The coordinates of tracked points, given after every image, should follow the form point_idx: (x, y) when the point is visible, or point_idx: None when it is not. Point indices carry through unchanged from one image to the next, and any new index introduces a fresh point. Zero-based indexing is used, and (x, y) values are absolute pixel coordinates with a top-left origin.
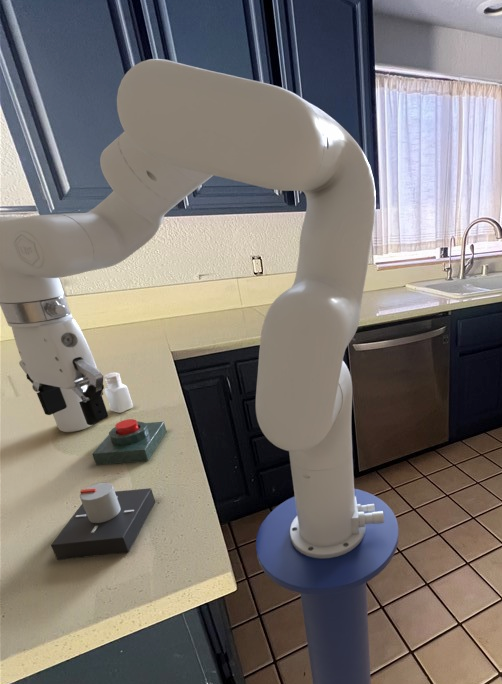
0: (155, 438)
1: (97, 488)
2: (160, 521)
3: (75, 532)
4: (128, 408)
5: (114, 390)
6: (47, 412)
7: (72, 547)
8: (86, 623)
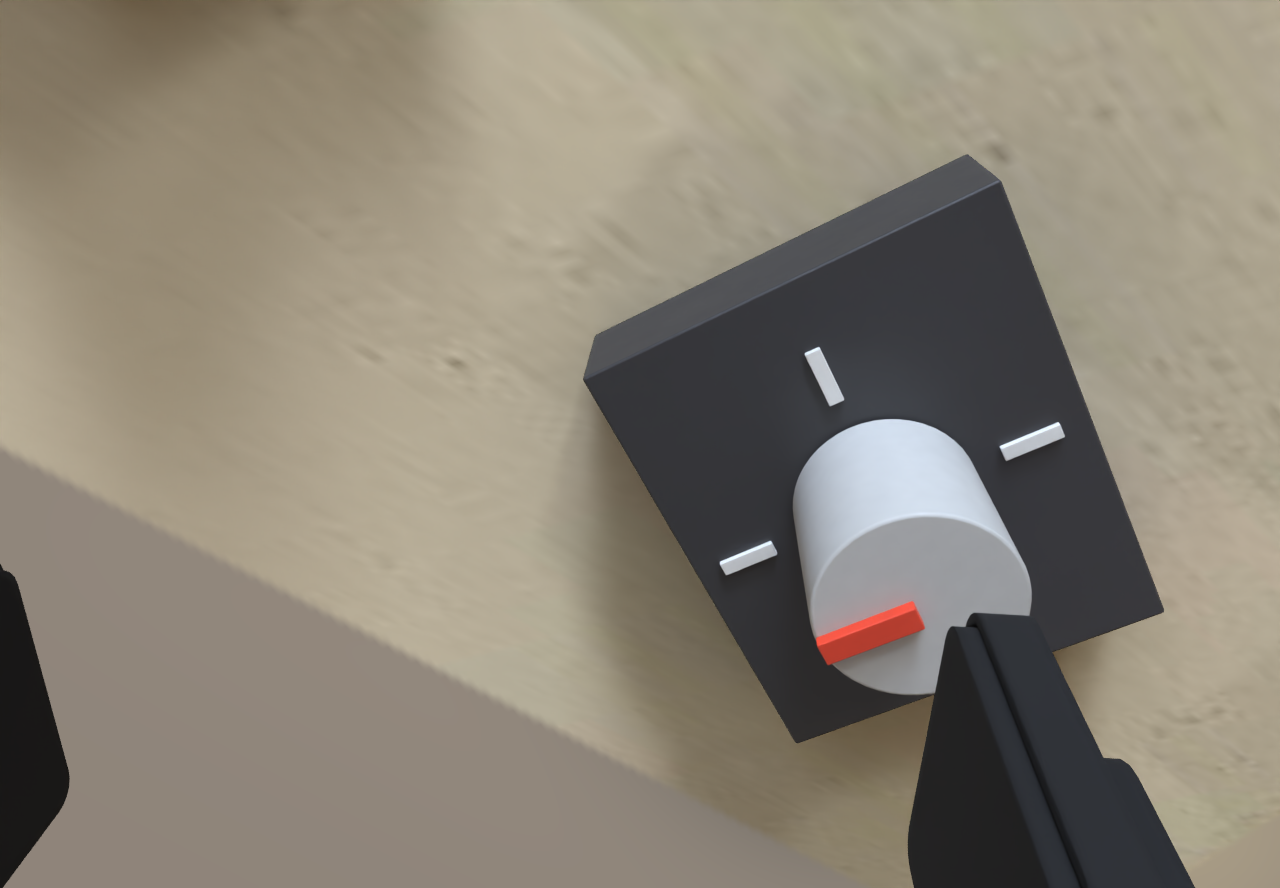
0: None
1: (903, 588)
2: (1143, 305)
3: None
4: None
5: None
6: (37, 823)
7: None
8: (1216, 844)
